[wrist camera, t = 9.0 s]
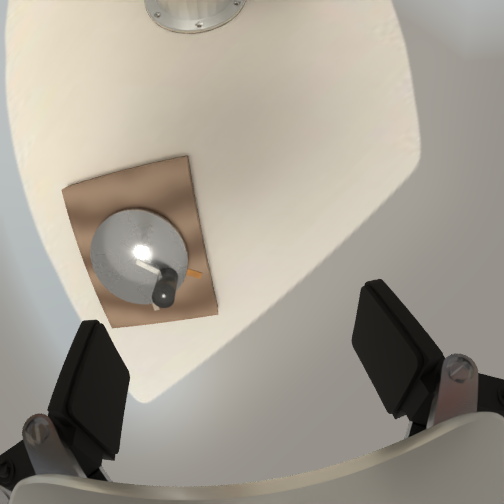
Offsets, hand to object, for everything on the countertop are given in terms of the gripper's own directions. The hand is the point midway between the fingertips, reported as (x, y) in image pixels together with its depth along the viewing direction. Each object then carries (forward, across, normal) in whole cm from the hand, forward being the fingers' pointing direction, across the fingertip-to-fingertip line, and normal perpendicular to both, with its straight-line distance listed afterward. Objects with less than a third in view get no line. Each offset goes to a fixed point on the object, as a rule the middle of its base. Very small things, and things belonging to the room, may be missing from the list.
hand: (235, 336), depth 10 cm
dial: (+25, +11, +9) cm, 28 cm away
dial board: (+27, +11, +9) cm, 31 cm away
